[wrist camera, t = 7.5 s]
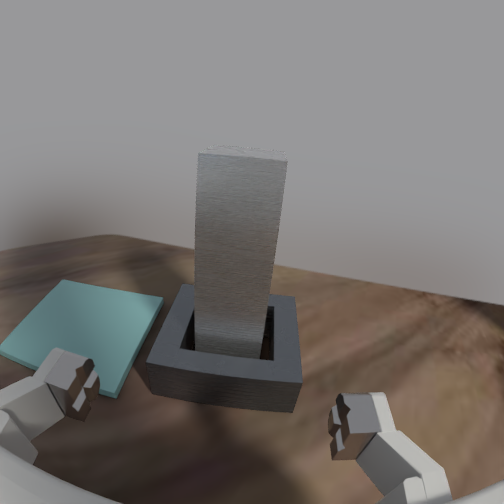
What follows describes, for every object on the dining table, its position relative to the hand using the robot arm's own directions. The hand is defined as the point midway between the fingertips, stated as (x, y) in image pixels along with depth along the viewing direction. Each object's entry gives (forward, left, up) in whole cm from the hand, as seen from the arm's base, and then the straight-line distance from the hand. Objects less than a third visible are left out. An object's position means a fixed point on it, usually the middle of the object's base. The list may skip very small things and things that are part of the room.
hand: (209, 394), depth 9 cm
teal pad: (+12, -10, -8) cm, 17 cm away
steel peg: (0, -10, -8) cm, 12 cm away
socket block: (0, -10, -8) cm, 12 cm away
